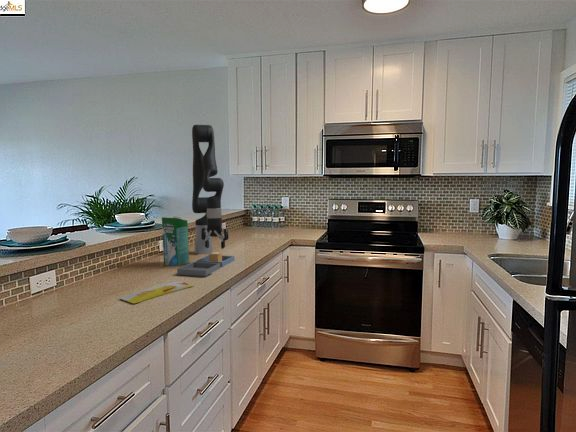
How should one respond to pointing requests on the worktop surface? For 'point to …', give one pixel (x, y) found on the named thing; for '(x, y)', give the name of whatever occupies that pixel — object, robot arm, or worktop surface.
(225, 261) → the slate-blue tray
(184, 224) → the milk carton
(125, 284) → the worktop surface
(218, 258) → the orange cube
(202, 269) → the charcoal tray
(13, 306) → the worktop surface
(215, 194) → the robot arm
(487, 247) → the worktop surface
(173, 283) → the food package
